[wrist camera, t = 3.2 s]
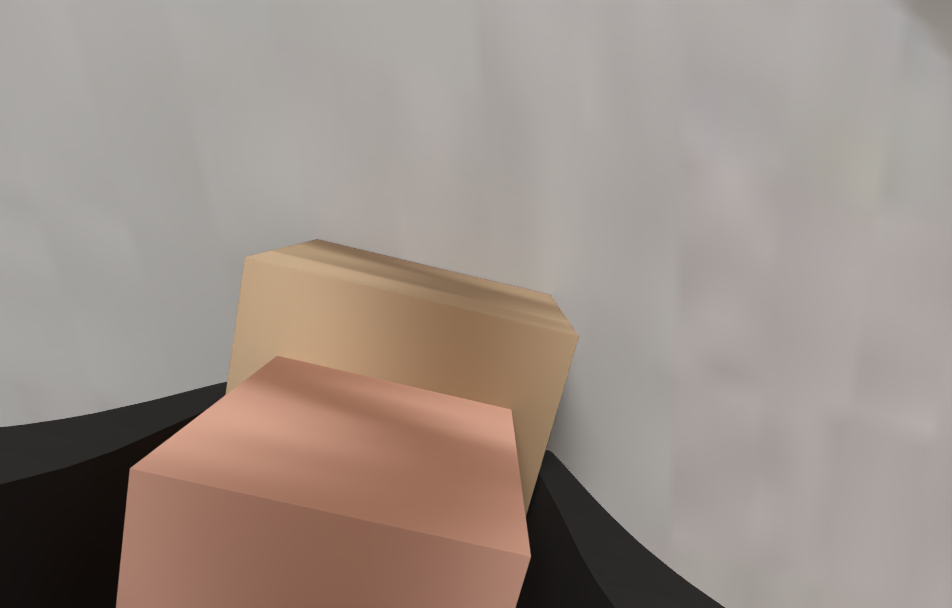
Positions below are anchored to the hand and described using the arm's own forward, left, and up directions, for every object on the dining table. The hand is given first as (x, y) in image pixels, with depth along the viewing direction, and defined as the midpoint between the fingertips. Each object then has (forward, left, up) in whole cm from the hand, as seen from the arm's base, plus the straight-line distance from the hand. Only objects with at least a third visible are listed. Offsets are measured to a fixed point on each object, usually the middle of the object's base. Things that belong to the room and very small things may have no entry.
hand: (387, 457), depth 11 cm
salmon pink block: (0, 0, +2) cm, 2 cm away
